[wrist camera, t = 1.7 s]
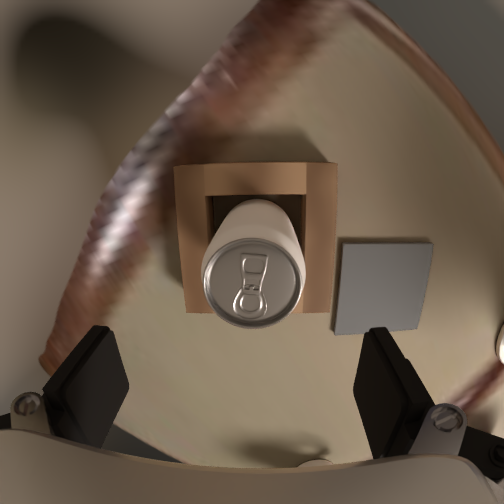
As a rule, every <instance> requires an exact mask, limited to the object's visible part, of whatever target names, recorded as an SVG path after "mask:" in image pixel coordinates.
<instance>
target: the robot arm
mask: <svg viewBox="0 0 504 504" xmlns="http://www.w3.org/2000/svg"><path fill="white" fill-rule="evenodd" d="M496 353H497V357H498V358H499V360H500V361H501V362H502V363H503V364H504V324H503V326H502V328H501V331H500V333H499V336H498V340H497V346H496ZM42 390H43V391H44V394H43V395H42V396H41V395H40V394H38V393H36V392H25V393H23V394H20V395H19V396H17V397H16V398H15V399H14V400H13V401H12V403H11V407H10V413H8V414H5V415H2V416H0V504H504V439H503V438H500V437H497V436H494V435H491V434H488V433H485V432H483V431H480V430H477V429H474V428H471V427H468V426H467V417H466V415H465V413H464V412H463V410H461V409H460V408H459V407H457V406H455V405H453V404H448V403H441V404H437V405H435V404H434V402H433V400H432V398H431V397H430V395H429V393H428V391H427V390H426V388H425V386H424V385H423V383H422V381H421V379H420V378H419V376H418V374H417V373H416V371H415V369H414V368H413V366H412V364H411V363H410V361H409V360H408V359H405V357H404V355H403V354H402V352H401V350H400V349H399V347H398V345H397V344H396V342H395V341H394V339H393V337H392V336H391V334H390V333H389V331H388V329H387V328H386V327H374V328H370V329H369V332H365V334H364V338H363V343H362V349H361V354H360V359H359V363H358V368H357V373H356V377H355V382H354V386H353V394H354V397H355V400H356V404H357V407H358V410H359V413H360V416H361V419H362V422H363V426H364V429H365V432H366V435H367V439H368V442H369V445H370V449H371V452H372V456H373V460H366V461H359V462H352V463H343V464H334V465H324V466H312V467H296V468H227V467H211V466H199V465H189V464H180V463H172V462H166V461H159V460H153V459H147V458H141V457H136V456H130V455H126V454H121V453H117V452H112V451H108V450H104V449H101V447H102V445H103V443H104V440H105V438H106V436H107V434H108V432H109V430H110V428H111V425H112V424H113V421H114V419H115V417H116V415H117V413H118V411H119V409H120V407H121V405H122V403H123V401H124V399H125V397H126V395H127V393H128V390H129V382H128V379H127V376H126V373H125V369H124V366H123V363H122V360H121V356H120V353H119V350H118V346H117V343H116V339H115V335H114V332H113V331H112V330H110V328H109V327H107V326H98V325H94V326H93V327H92V328H91V329H90V330H89V331H88V333H87V334H86V335H85V336H84V337H83V339H82V340H81V341H80V342H79V343H78V345H77V346H76V347H75V348H74V349H73V351H72V352H71V353H70V354H69V356H68V357H67V358H66V359H65V361H64V362H63V363H62V364H61V366H60V367H59V368H58V369H57V371H56V372H55V373H54V374H53V376H52V377H51V378H50V380H49V381H48V382H47V383H46V385H45V386H44V387H43V389H42Z"/></svg>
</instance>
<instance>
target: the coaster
mask: <svg viewBox="0 0 504 504" xmlns="http://www.w3.org/2000/svg"><path fill="white" fill-rule="evenodd" d="M433 245H434V244H433V243H430V242H348V243H342V250H341V264H340V276H339V288H338V298H337V308H336V317H335V326H334V335H352V334H365V332H369V329H370V328H374V327H386V328H387V329H388V331H389V332H391V331H402V330H412V329H417V327H418V323H419V319H420V315H421V311H422V306H423V302H424V297H425V292H426V287H427V282H428V276H429V271H430V265H431V258H432V252H433Z"/></svg>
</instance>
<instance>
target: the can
mask: <svg viewBox="0 0 504 504" xmlns="http://www.w3.org/2000/svg"><path fill="white" fill-rule="evenodd" d="M201 278H202V283H203V291H204V295H205V298H206V300H207V302H208V304H209V306H210V307H211V309H212V310H213V311H214V312H215V313H216V314H217V315H218V316H219V317H220V318H221V319H223V320H224V321H226V322H228V323H230V324H232V325H234V326H237V327H241V328H247V329H259V328H265V327H269V326H272V325H274V324H277V323H278V322H280V321H282V320H283V319H285V318H286V317H287V316H288V315H289V314H290V313H291V312H292V311H293V310H294V308H295V307H296V305H297V303H298V301H299V299H300V296H301V293H302V290H303V288H304V284H305V278H306V269H305V262H304V258H303V255H302V252H301V248H300V246H299V243H298V240H297V237H296V234H295V232H294V229H293V226H292V224H291V221H290V219H289V217H288V215H287V214H286V213H285V211H284V210H283V209H282V208H281V207H279V206H278V205H276V204H275V203H273V202H271V201H268V200H264V199H251V200H247V201H244V202H242V203H240V204H238V205H237V206H235V207H234V208H233V209H232V210H231V211H230V212H229V213H228V215H227V216H226V218H225V219H224V221H223V222H222V224H221V226H220V227H219V229H218V231H217V232H216V234H215V236H214V237H213V239H212V241H211V243H210V244H209V246H208V248H207V250H206V252H205V255H204V258H203V261H202V267H201Z"/></svg>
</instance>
